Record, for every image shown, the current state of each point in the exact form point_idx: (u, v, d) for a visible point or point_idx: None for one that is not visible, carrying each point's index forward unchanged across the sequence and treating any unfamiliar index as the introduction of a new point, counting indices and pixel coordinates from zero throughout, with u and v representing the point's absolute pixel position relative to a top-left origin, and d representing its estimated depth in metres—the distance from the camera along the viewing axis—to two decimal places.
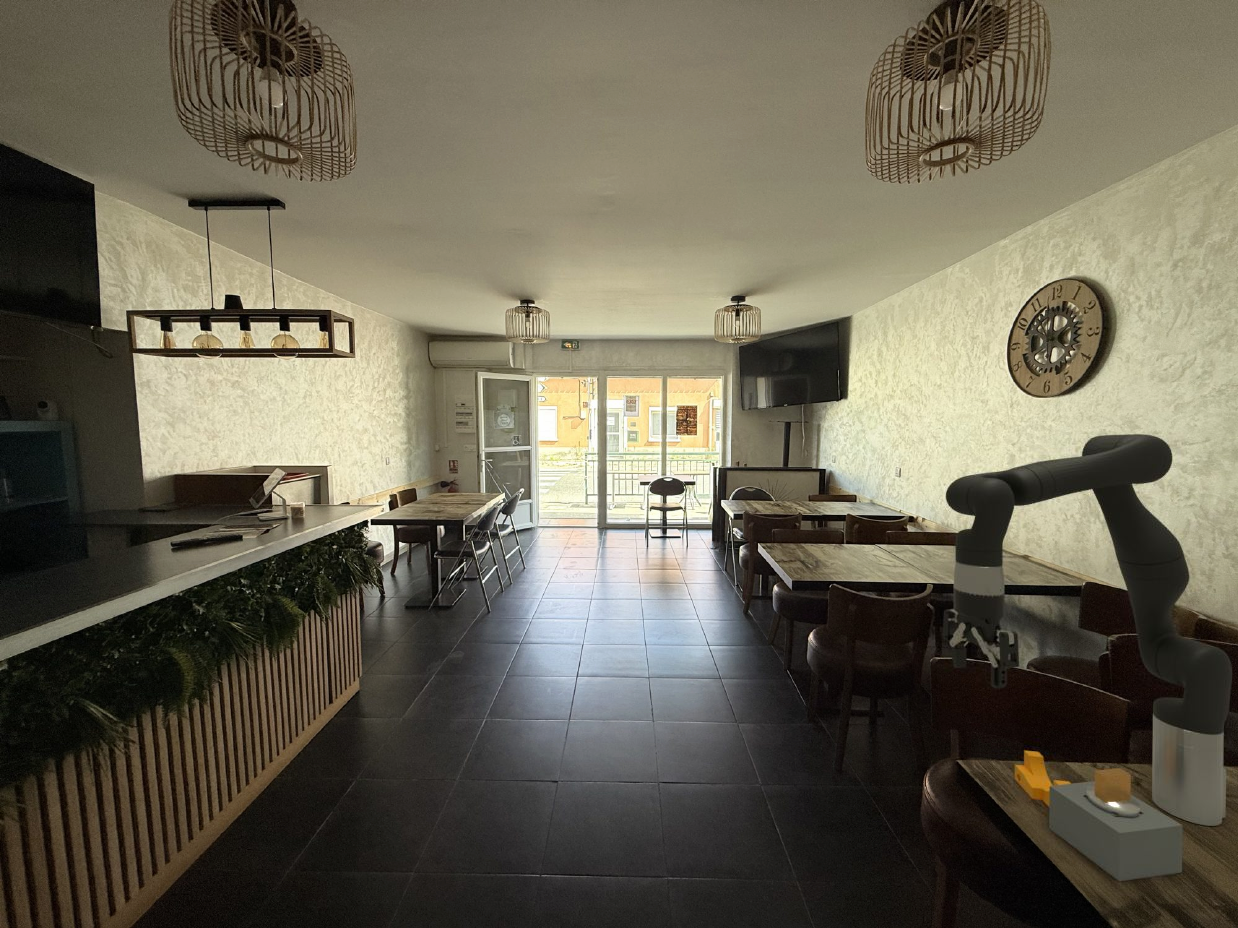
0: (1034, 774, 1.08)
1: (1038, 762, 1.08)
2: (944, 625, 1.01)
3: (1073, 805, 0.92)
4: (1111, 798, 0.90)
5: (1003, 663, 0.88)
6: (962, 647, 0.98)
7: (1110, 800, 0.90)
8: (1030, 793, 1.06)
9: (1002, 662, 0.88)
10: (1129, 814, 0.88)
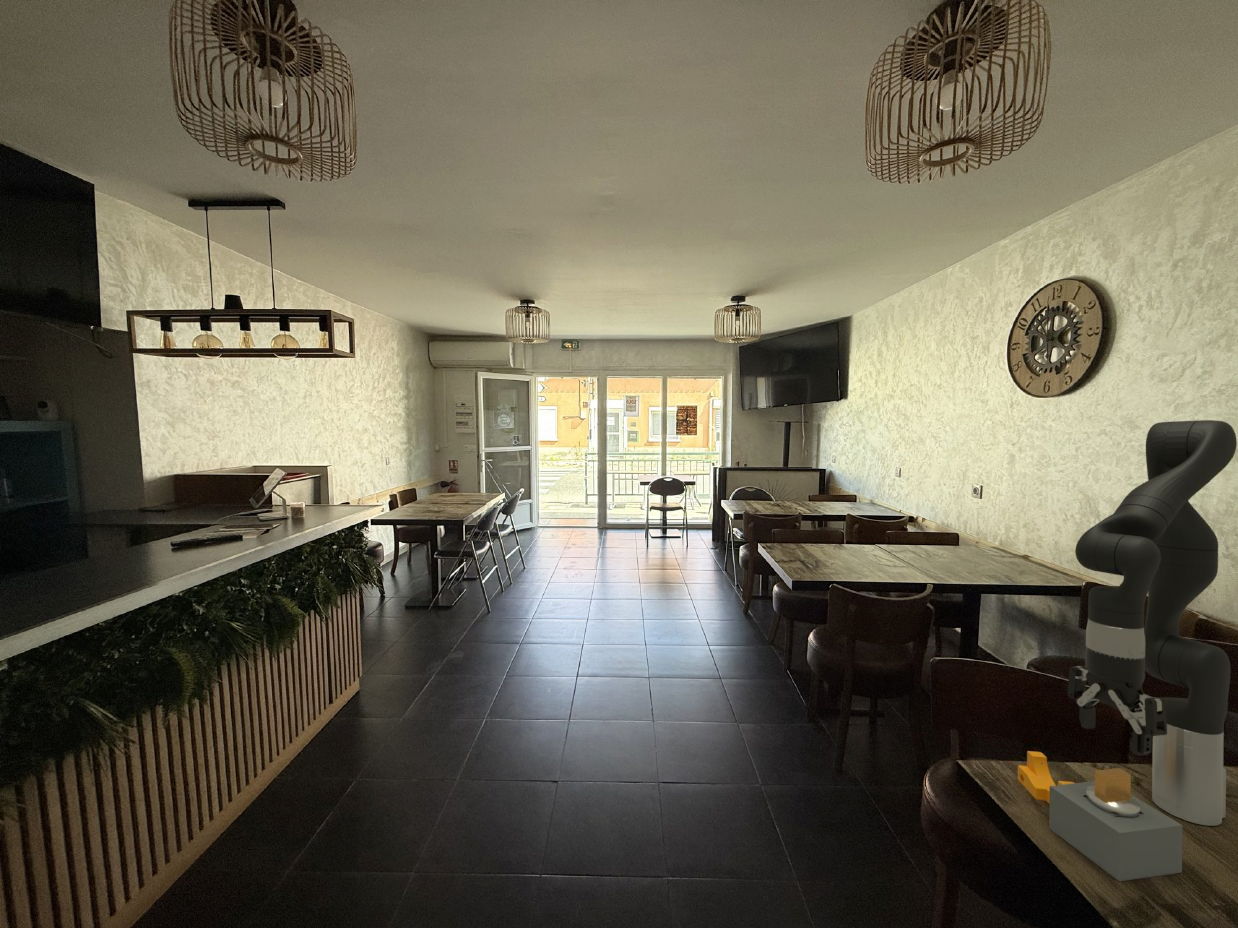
0: (1037, 774, 1.07)
1: (1041, 762, 1.08)
2: (1069, 682, 0.97)
3: (1073, 805, 0.92)
4: (1111, 798, 0.90)
5: (1150, 731, 0.84)
6: (1091, 707, 0.95)
7: (1110, 800, 0.90)
8: (1033, 794, 1.06)
9: (1149, 730, 0.84)
10: (1129, 814, 0.88)
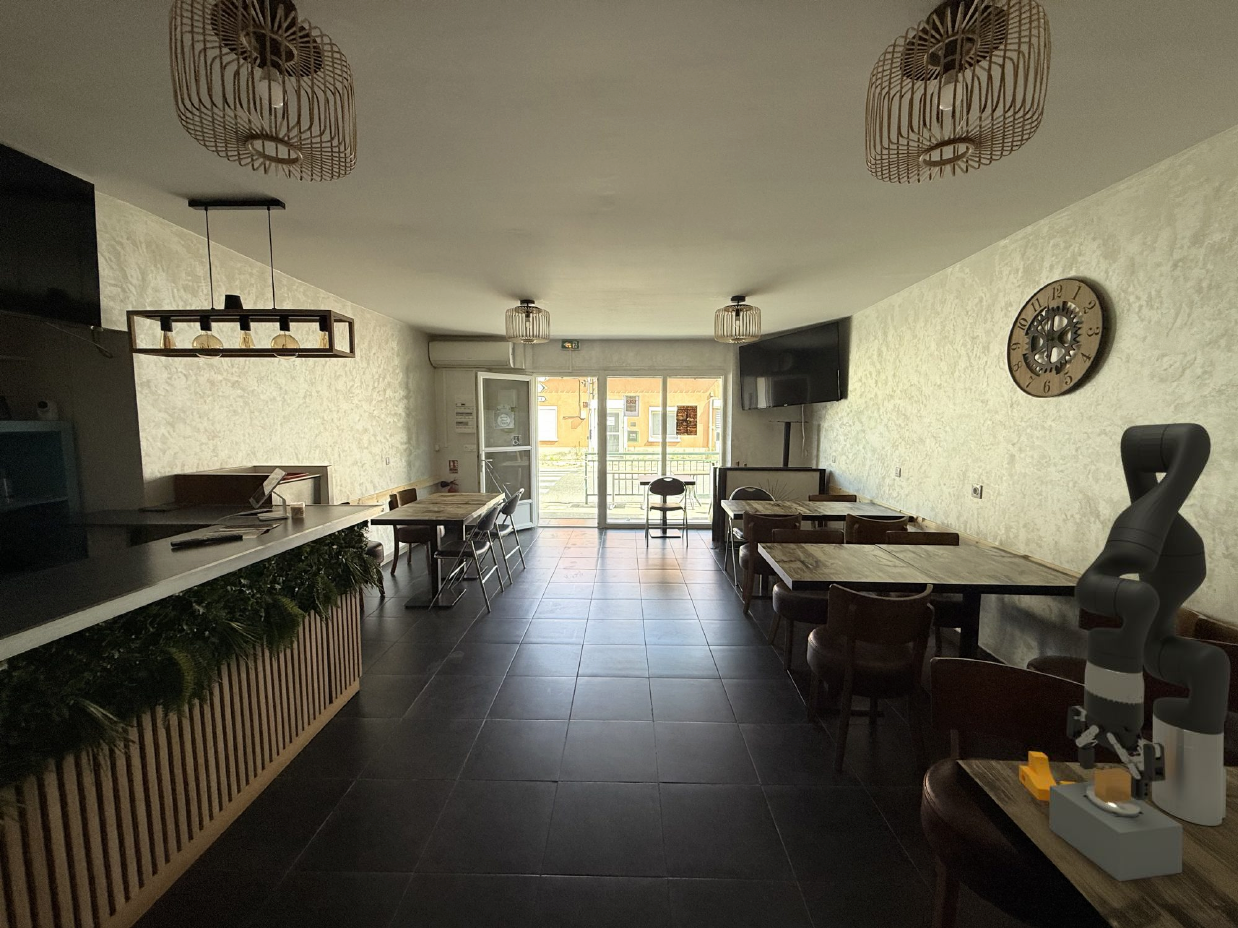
0: (1039, 775, 1.07)
1: (1043, 763, 1.08)
2: (1068, 722, 0.98)
3: (1073, 805, 0.92)
4: (1111, 798, 0.90)
5: (1149, 777, 0.84)
6: (1090, 747, 0.95)
7: (1110, 800, 0.90)
8: (1035, 794, 1.05)
9: (1147, 775, 0.85)
10: (1129, 814, 0.88)
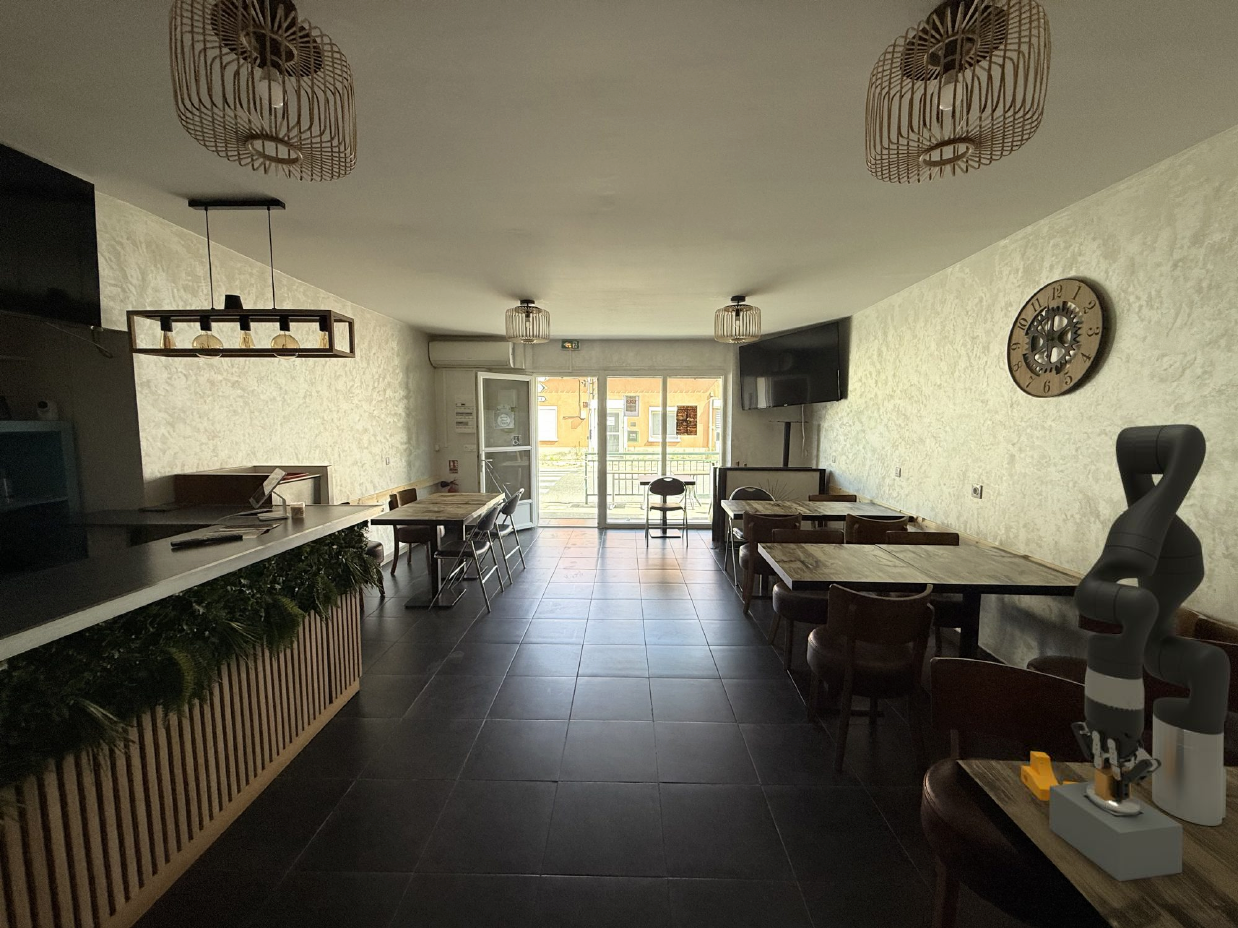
0: (1041, 775, 1.07)
1: (1045, 763, 1.08)
2: (1080, 742, 0.96)
3: (1073, 805, 0.92)
4: (1111, 796, 0.90)
5: (1128, 778, 0.88)
6: None
7: (1110, 798, 0.90)
8: (1037, 794, 1.05)
9: (1127, 776, 0.88)
10: (1129, 812, 0.88)
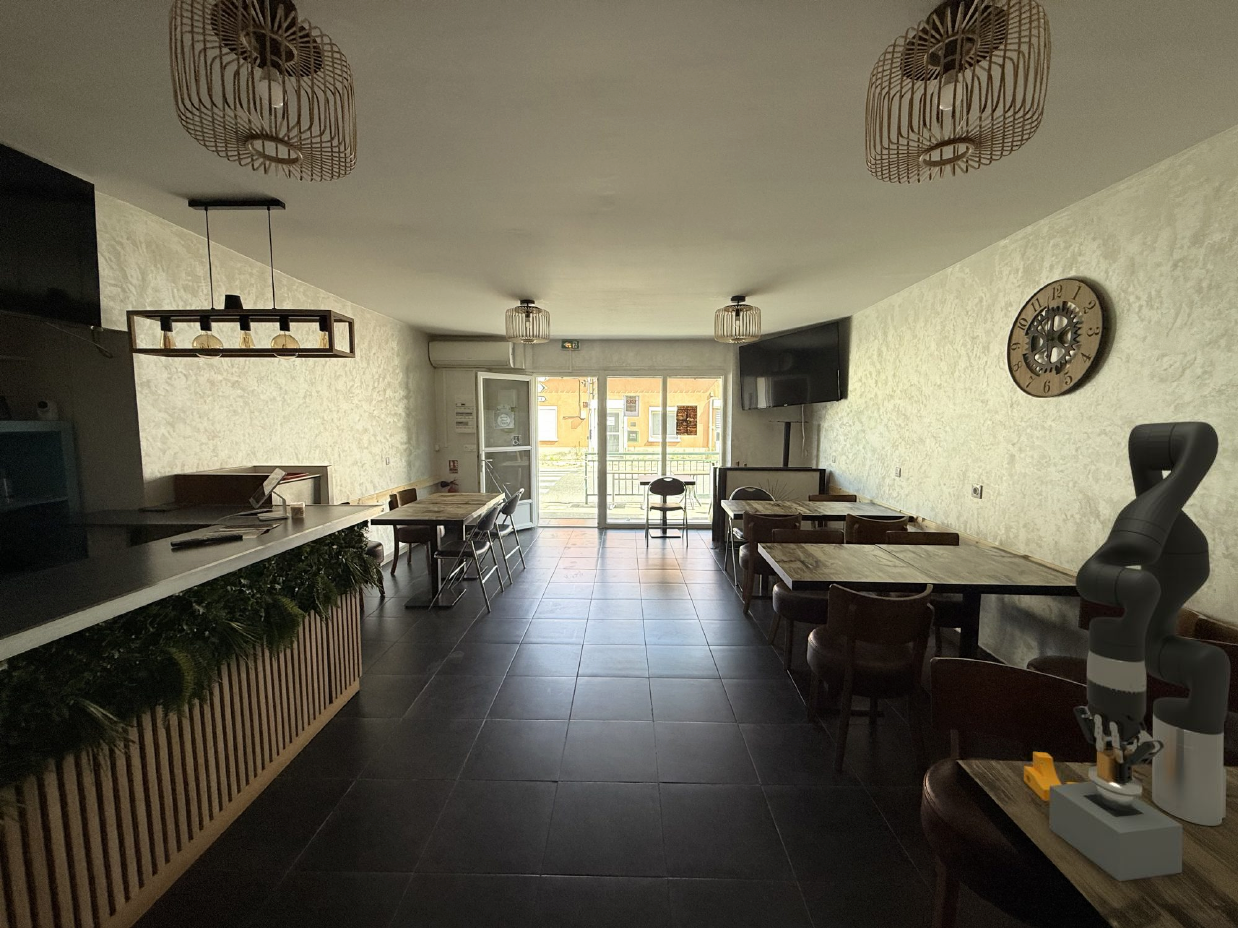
0: (1044, 775, 1.07)
1: (1047, 763, 1.08)
2: (1082, 726, 0.96)
3: (1073, 805, 0.92)
4: (1113, 778, 0.90)
5: (1131, 760, 0.88)
6: None
7: (1112, 780, 0.90)
8: (1040, 795, 1.05)
9: (1129, 759, 0.88)
10: (1131, 794, 0.88)
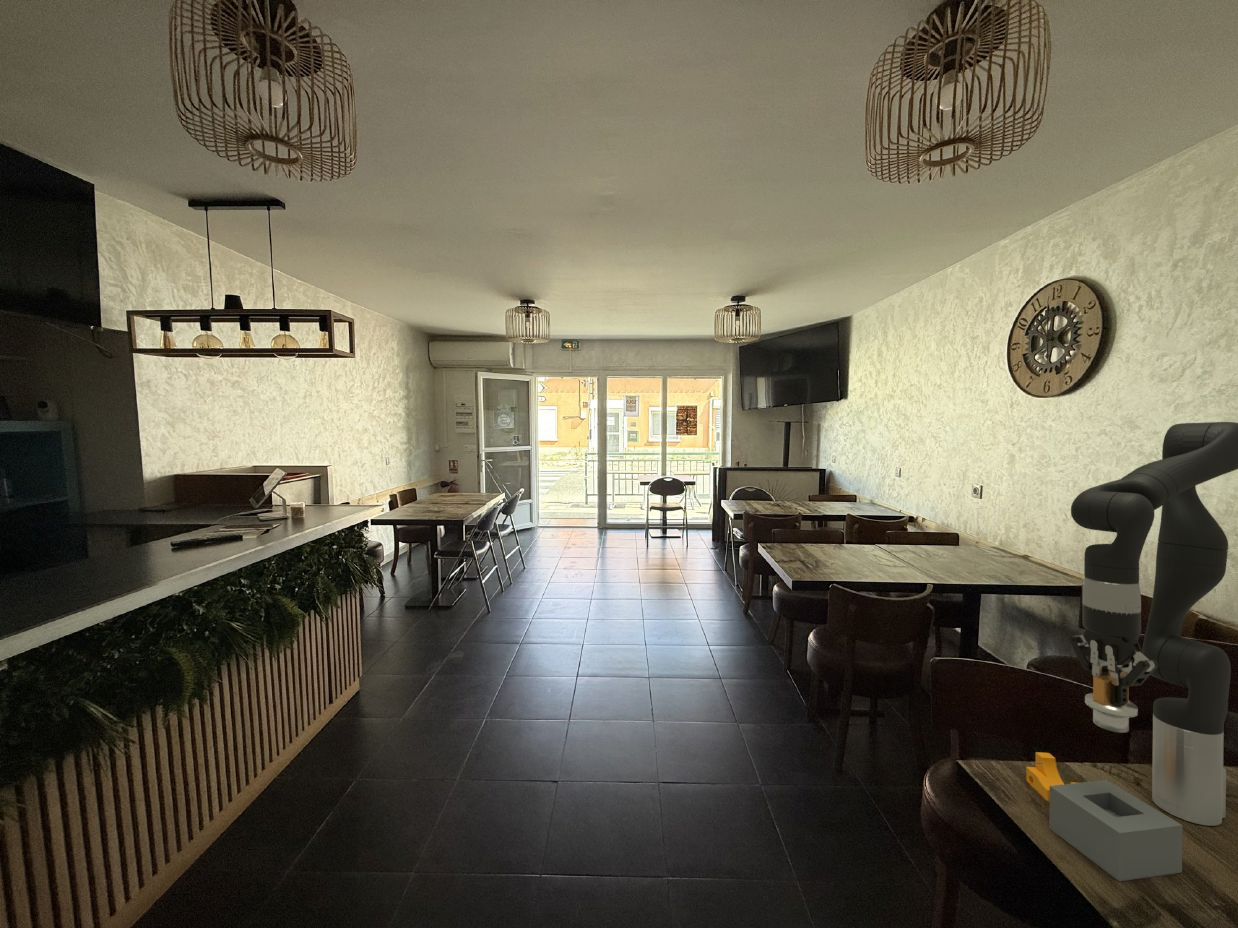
0: (1047, 776, 1.07)
1: (1050, 763, 1.08)
2: (1078, 654, 0.97)
3: (1073, 805, 0.92)
4: (1109, 701, 0.91)
5: (1126, 682, 0.89)
6: None
7: (1108, 703, 0.91)
8: (1044, 795, 1.05)
9: (1125, 681, 0.89)
10: (1127, 715, 0.89)
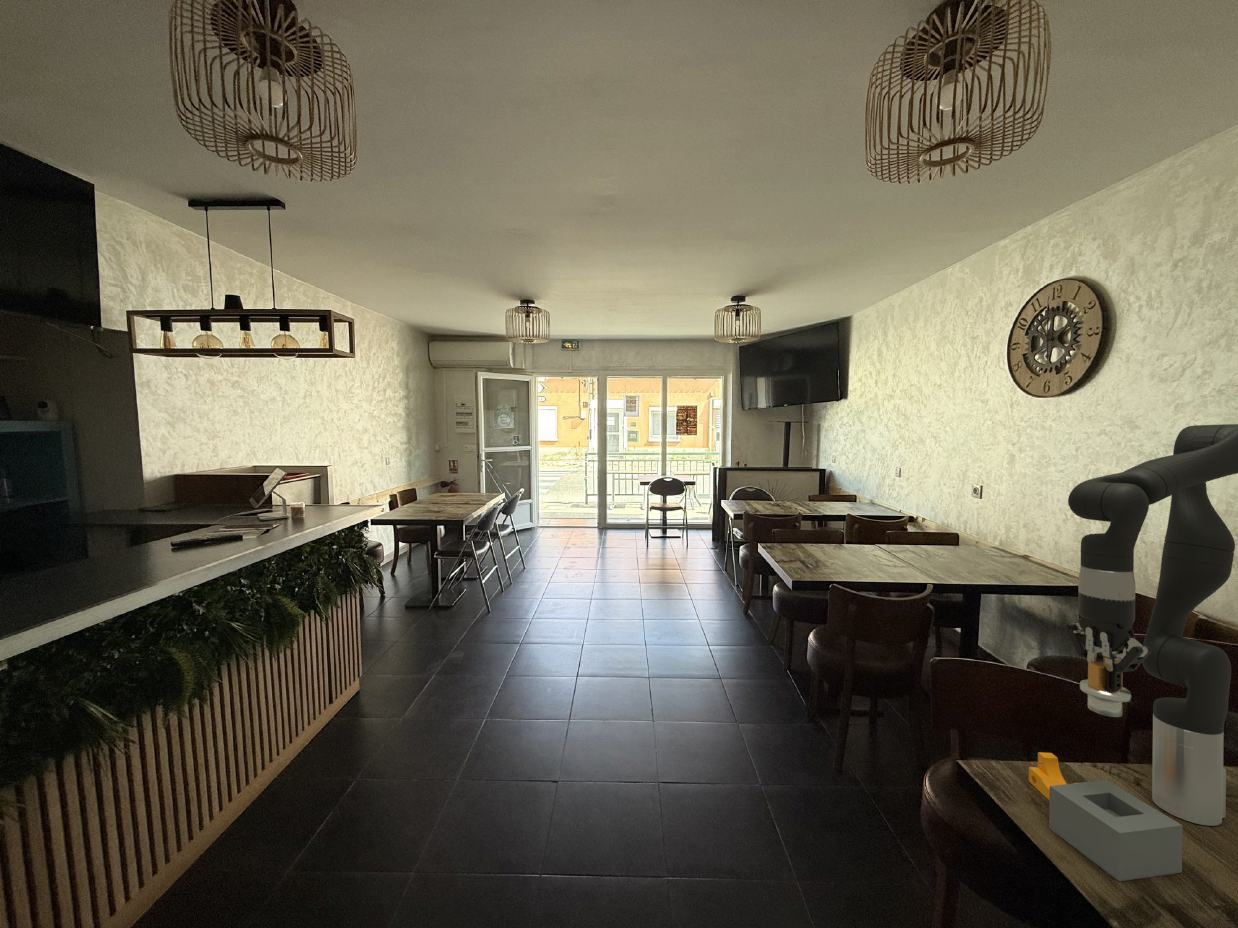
0: (1050, 776, 1.07)
1: (1053, 763, 1.08)
2: (1073, 641, 0.99)
3: (1073, 805, 0.92)
4: (1103, 687, 0.94)
5: (1120, 667, 0.91)
6: None
7: (1102, 689, 0.94)
8: (1047, 796, 1.05)
9: (1119, 666, 0.91)
10: (1121, 699, 0.91)
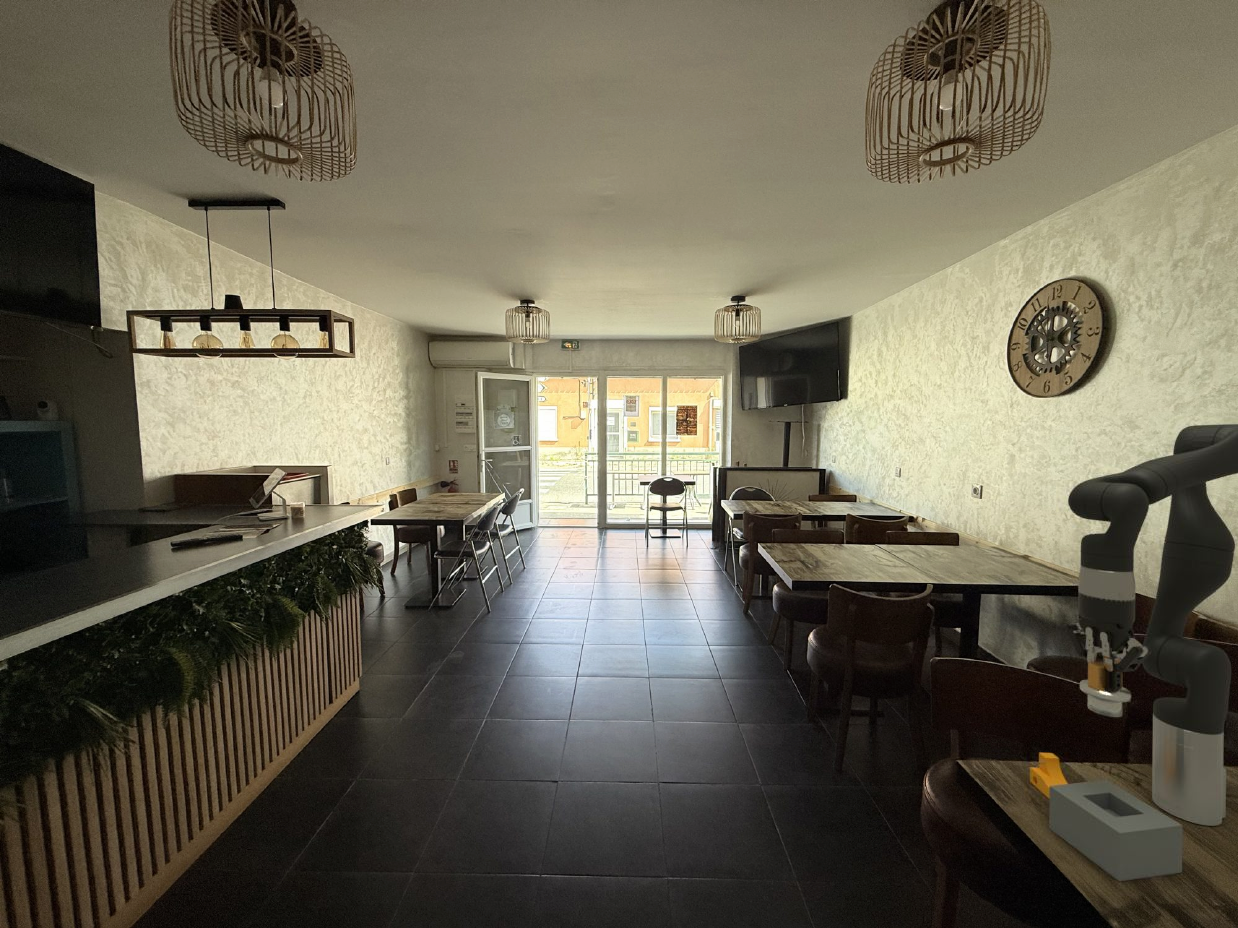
0: (1051, 776, 1.07)
1: (1054, 764, 1.08)
2: (1073, 641, 0.99)
3: (1073, 805, 0.92)
4: (1103, 687, 0.94)
5: (1120, 667, 0.91)
6: None
7: (1103, 689, 0.93)
8: (1049, 796, 1.05)
9: (1119, 666, 0.91)
10: (1121, 699, 0.91)
